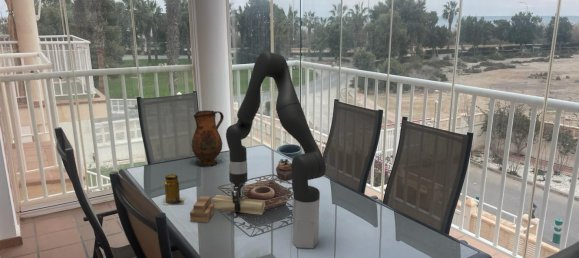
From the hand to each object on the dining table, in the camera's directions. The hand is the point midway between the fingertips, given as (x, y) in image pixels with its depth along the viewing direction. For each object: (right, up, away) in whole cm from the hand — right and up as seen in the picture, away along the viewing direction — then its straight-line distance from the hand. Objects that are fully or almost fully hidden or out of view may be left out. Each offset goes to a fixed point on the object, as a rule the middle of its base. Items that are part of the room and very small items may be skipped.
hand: (238, 208), depth 182 cm
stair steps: (-14, -2, -8) cm, 16 cm away
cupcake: (+19, +8, +39) cm, 44 cm away
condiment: (-29, +1, +8) cm, 30 cm away
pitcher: (-24, +14, +62) cm, 68 cm away
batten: (0, -1, 0) cm, 1 cm away
